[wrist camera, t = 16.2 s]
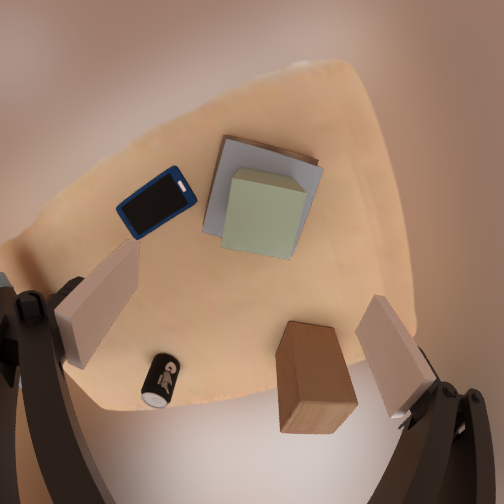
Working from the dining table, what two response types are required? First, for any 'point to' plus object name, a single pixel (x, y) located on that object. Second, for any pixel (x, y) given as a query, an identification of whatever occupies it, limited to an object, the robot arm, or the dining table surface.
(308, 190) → the slate top block
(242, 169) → the sage block
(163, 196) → the cell phone
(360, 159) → the dining table surface
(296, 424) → the wooden block
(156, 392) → the beverage can
